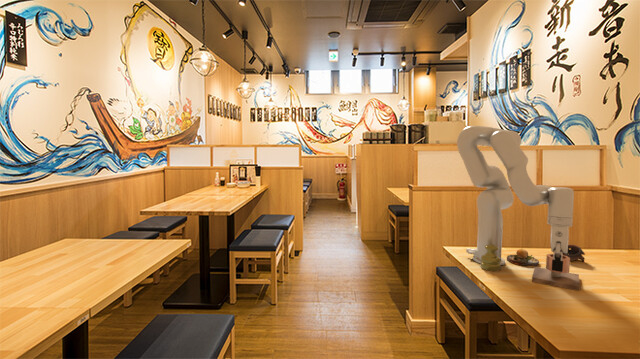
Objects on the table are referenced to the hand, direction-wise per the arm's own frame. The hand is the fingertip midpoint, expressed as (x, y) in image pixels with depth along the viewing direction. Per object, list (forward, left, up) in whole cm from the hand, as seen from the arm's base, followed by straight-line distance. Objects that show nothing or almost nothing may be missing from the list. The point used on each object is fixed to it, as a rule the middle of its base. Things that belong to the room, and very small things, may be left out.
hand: (557, 267), depth 124 cm
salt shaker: (-22, -1, -5) cm, 23 cm away
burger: (-12, +16, -5) cm, 21 cm away
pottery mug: (+4, +31, -5) cm, 32 cm away
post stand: (0, 0, -5) cm, 5 cm away
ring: (0, 0, -1) cm, 1 cm away
